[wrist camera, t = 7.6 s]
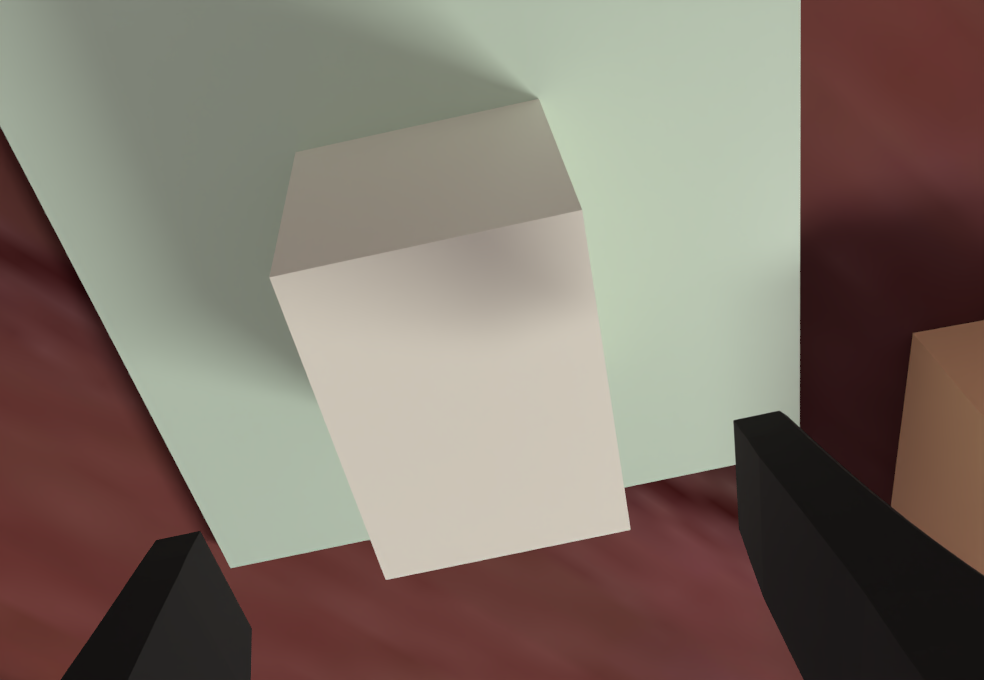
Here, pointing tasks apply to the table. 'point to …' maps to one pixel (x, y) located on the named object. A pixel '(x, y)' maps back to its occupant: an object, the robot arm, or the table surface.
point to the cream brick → (453, 337)
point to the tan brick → (944, 440)
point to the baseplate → (392, 106)
